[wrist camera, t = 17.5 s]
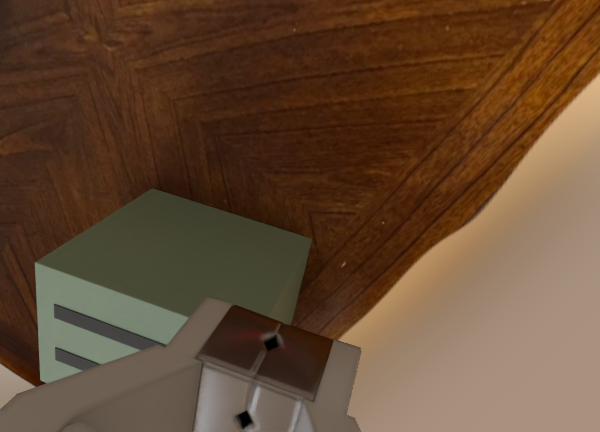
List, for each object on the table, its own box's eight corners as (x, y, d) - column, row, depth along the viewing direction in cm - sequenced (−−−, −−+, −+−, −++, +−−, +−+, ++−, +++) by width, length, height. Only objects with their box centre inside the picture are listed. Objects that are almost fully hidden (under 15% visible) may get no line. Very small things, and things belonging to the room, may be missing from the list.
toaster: (312, 238, 44) (254, 342, 30) (289, 332, 49) (230, 457, 35) (152, 187, 46) (33, 263, 33) (145, 282, 51) (39, 381, 38)
